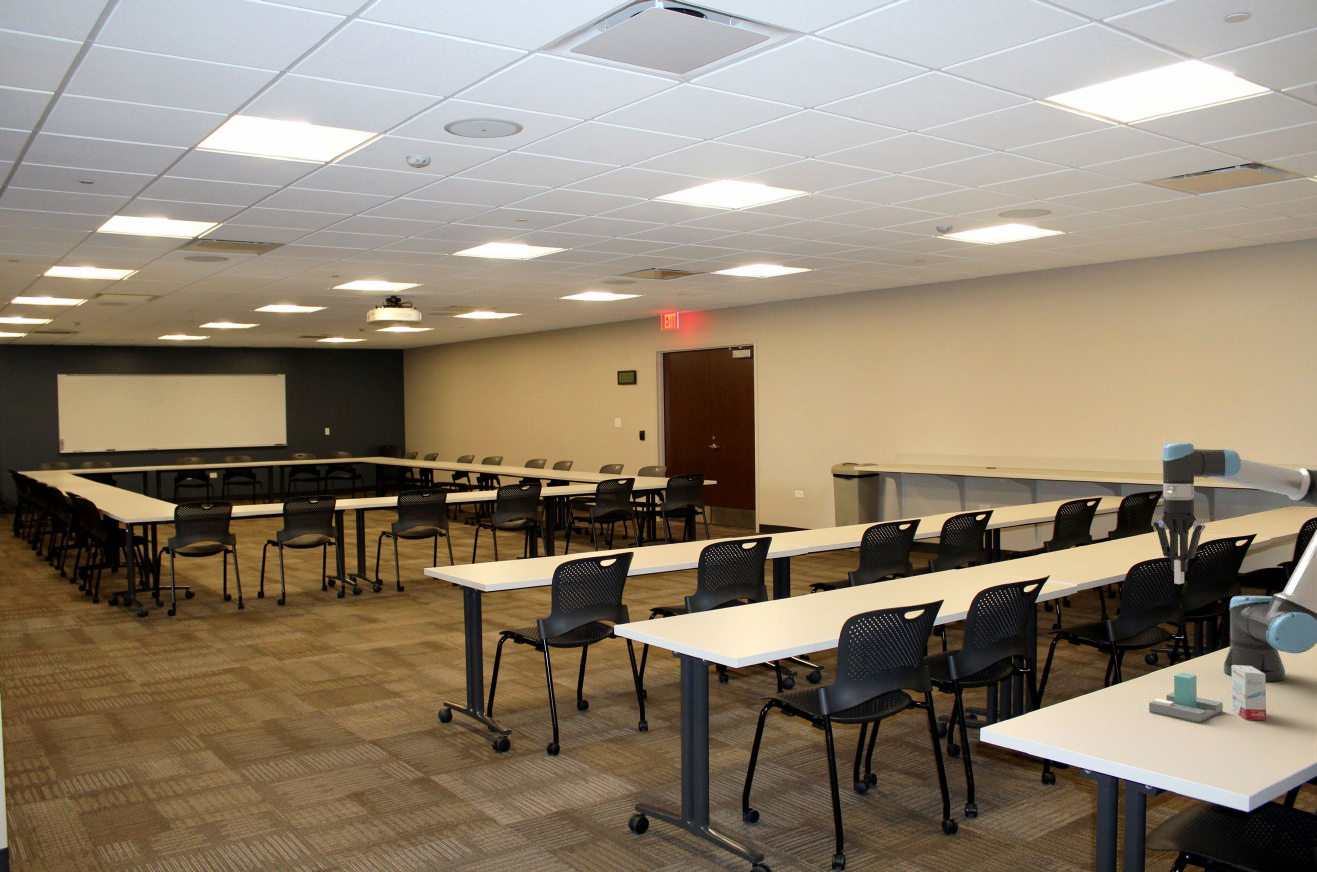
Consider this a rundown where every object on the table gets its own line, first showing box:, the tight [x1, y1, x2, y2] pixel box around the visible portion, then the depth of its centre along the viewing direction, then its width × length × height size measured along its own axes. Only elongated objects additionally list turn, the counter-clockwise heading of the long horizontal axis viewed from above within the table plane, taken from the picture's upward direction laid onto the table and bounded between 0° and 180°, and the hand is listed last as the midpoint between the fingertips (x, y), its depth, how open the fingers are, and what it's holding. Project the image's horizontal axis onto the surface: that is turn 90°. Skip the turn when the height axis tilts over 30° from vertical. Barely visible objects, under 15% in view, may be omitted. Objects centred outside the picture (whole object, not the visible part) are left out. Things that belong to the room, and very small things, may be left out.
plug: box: [1173, 672, 1198, 708], centre depth 237 cm, size 4×4×9 cm
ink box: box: [1231, 665, 1267, 721], centre depth 234 cm, size 9×5×12 cm, turn 168°
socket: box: [1148, 692, 1224, 724], centre depth 237 cm, size 14×12×3 cm
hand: (1179, 582), depth 258 cm, fingers closed
